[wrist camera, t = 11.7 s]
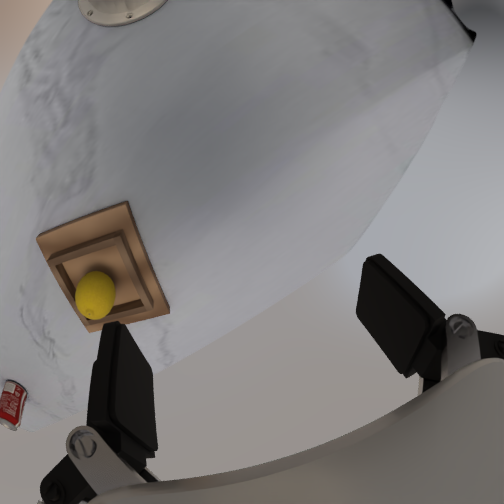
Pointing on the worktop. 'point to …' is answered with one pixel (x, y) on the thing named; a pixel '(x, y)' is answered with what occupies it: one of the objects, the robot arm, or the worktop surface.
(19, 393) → the soda can
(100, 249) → the board
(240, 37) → the worktop surface
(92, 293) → the lemon
